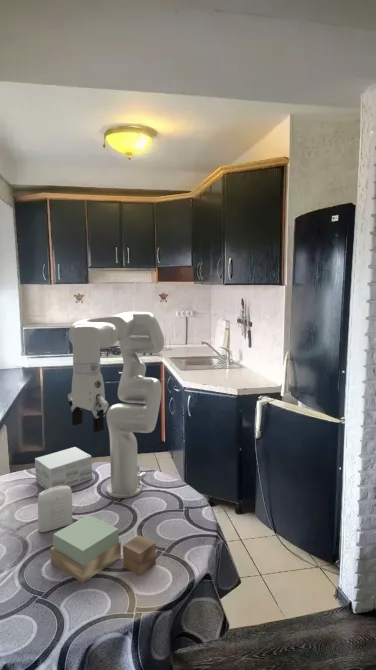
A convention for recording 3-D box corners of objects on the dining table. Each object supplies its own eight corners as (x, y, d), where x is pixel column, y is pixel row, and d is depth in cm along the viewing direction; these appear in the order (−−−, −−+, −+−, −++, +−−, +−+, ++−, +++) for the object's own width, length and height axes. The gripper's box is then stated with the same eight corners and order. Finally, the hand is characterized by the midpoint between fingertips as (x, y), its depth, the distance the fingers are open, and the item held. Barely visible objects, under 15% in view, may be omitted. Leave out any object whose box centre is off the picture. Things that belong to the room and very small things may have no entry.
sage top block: (89, 527, 124) (88, 514, 123) (118, 542, 116) (118, 528, 116) (53, 548, 114) (53, 534, 114) (83, 566, 107) (82, 550, 106)
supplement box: (76, 468, 173) (75, 446, 172) (92, 479, 164) (92, 455, 163) (34, 481, 162) (33, 457, 161) (50, 493, 152) (49, 468, 151)
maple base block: (89, 540, 125) (88, 526, 124) (120, 558, 117) (120, 542, 117) (50, 563, 115) (50, 548, 114) (82, 584, 107) (82, 567, 106)
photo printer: (70, 518, 136) (69, 480, 135) (74, 524, 133) (73, 486, 131) (36, 528, 131) (35, 489, 129) (40, 534, 127) (39, 495, 126)
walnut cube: (139, 555, 118) (138, 534, 117) (155, 564, 114) (155, 542, 114) (123, 566, 113) (122, 545, 112) (139, 576, 109) (139, 554, 109)
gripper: (117, 370, 119) (117, 430, 121) (79, 363, 130) (80, 419, 132) (95, 374, 114) (96, 437, 115) (57, 366, 125) (58, 424, 126)
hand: (87, 427), depth 123 cm, fingers open, 9 cm apart
